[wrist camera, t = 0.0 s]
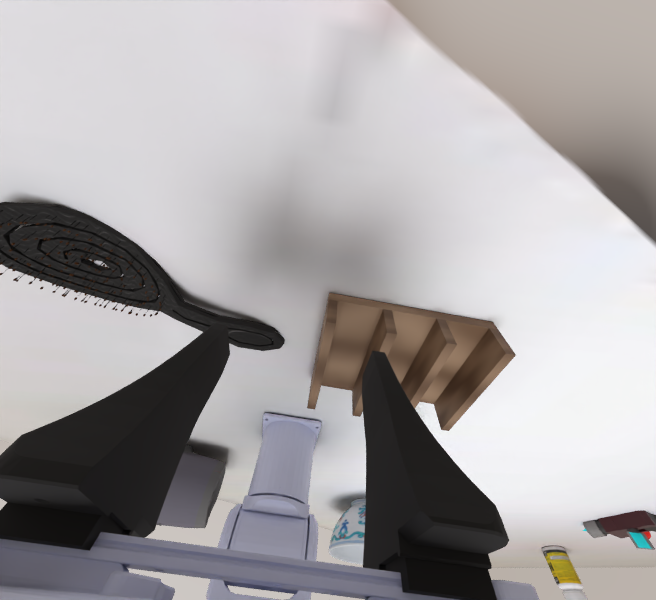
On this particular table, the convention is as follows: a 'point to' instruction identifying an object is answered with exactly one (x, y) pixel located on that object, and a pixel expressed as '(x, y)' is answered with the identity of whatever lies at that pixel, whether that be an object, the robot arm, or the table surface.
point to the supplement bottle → (564, 572)
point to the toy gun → (625, 527)
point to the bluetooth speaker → (192, 491)
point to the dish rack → (409, 353)
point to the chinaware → (350, 534)
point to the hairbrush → (106, 268)
